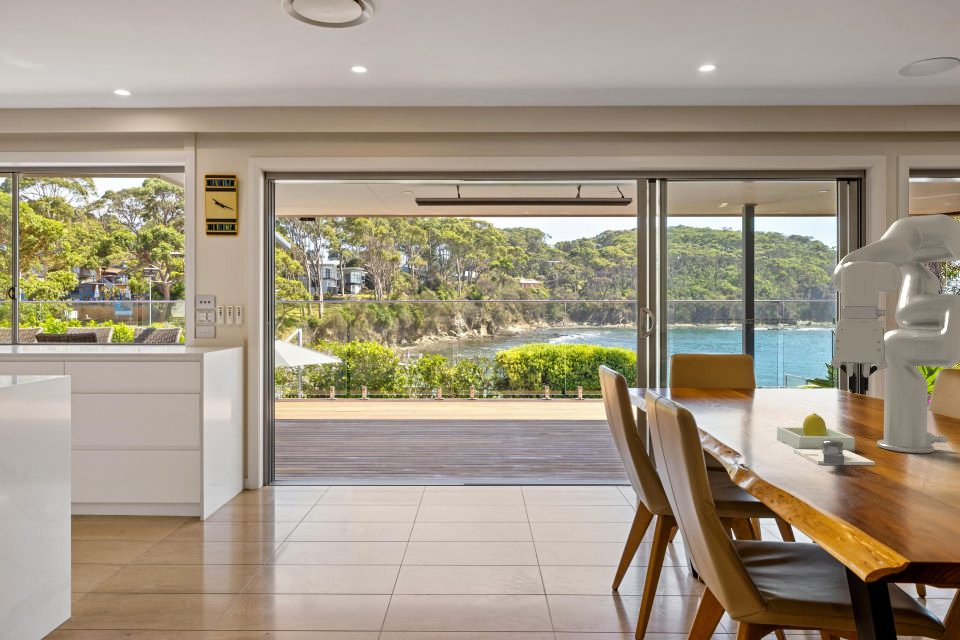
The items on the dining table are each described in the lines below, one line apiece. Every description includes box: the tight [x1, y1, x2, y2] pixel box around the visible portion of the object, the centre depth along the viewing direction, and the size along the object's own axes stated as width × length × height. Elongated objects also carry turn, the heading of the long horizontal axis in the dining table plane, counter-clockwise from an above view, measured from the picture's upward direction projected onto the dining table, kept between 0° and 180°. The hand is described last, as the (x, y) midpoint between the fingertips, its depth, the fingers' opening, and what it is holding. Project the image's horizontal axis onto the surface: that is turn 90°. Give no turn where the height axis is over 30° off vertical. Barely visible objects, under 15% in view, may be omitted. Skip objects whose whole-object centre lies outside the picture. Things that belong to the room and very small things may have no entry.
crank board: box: [793, 448, 876, 466], centre depth 156 cm, size 13×13×1 cm
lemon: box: [802, 412, 827, 436], centre depth 171 cm, size 6×6×8 cm
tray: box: [776, 426, 856, 452], centre depth 172 cm, size 14×14×4 cm
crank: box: [822, 440, 845, 466], centre depth 150 cm, size 17×4×3 cm, turn 152°
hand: (858, 393), depth 148 cm, fingers closed
